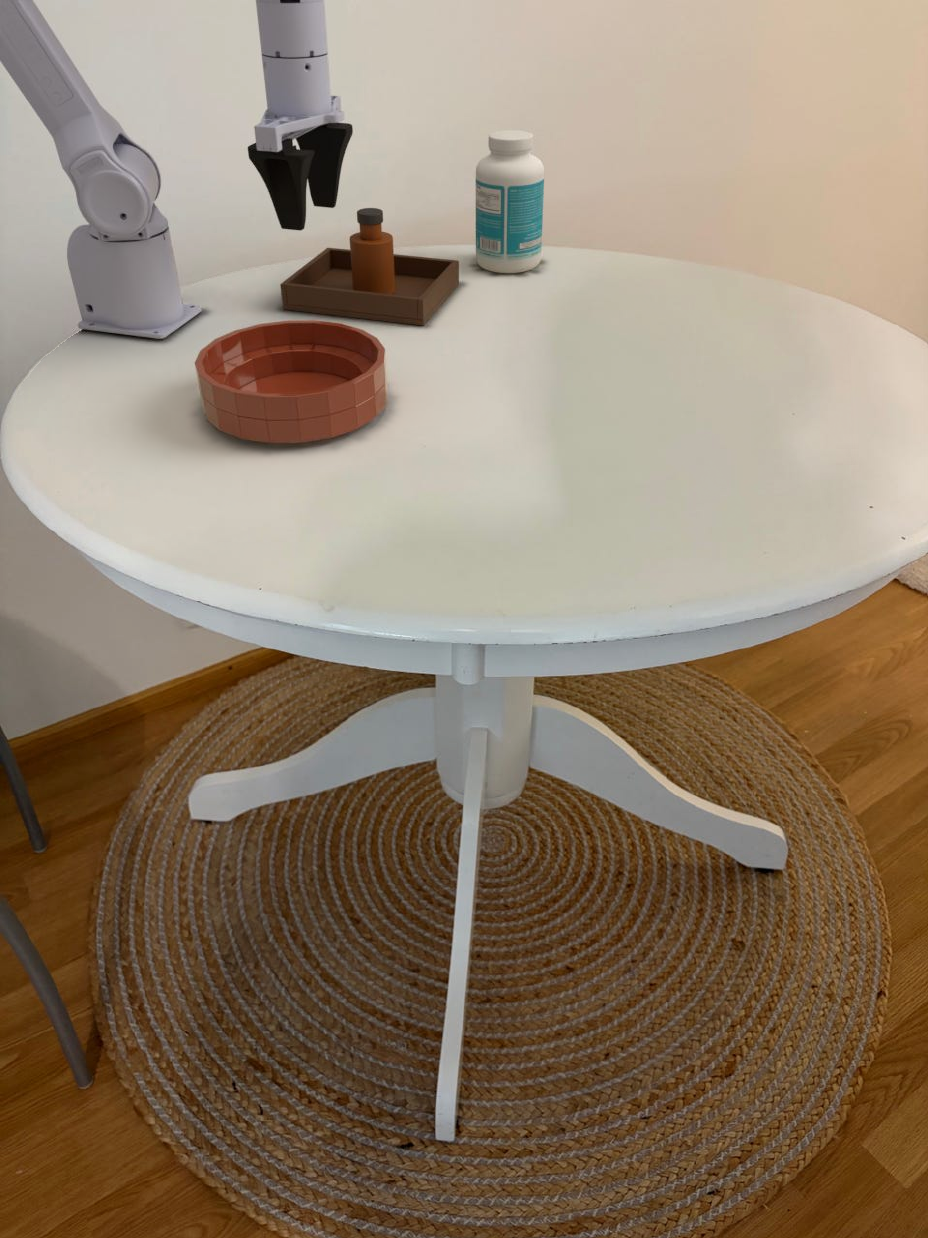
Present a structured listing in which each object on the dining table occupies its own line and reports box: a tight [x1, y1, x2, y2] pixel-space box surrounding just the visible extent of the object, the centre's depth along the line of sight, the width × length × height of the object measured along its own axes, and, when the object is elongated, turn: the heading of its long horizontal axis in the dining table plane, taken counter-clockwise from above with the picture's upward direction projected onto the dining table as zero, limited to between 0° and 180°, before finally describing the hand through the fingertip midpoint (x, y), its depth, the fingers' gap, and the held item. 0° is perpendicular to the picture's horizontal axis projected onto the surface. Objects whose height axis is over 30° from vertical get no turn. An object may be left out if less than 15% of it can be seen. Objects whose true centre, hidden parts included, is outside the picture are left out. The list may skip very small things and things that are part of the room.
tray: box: [279, 247, 460, 327], centre depth 100 cm, size 15×12×3 cm
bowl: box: [194, 319, 388, 444], centre depth 79 cm, size 15×15×4 cm
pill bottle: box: [475, 129, 545, 274], centre depth 104 cm, size 8×7×14 cm
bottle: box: [349, 207, 395, 294], centre depth 98 cm, size 4×4×8 cm
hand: (309, 217), depth 91 cm, fingers open, 7 cm apart
